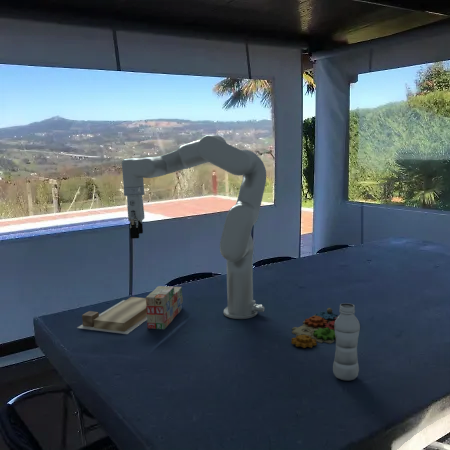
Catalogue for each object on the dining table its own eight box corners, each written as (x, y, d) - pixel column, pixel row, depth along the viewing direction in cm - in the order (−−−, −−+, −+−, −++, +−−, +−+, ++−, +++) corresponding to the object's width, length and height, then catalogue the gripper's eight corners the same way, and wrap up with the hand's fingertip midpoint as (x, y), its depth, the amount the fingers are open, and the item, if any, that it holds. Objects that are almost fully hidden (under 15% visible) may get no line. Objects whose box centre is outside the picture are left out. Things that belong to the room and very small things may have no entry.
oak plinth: (158, 306, 176) (158, 299, 176) (124, 331, 153) (123, 323, 153) (131, 304, 180) (131, 296, 180) (94, 327, 157) (93, 319, 156)
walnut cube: (99, 322, 161) (98, 312, 161) (92, 327, 158) (91, 316, 157) (89, 321, 163) (89, 311, 162) (82, 325, 159) (82, 315, 158)
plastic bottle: (329, 372, 123) (330, 302, 120) (353, 370, 124) (355, 300, 120) (337, 384, 117) (338, 310, 114) (362, 382, 117) (364, 309, 114)
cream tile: (167, 306, 179) (167, 304, 179) (127, 336, 151) (127, 334, 151) (123, 301, 186) (123, 300, 185) (77, 329, 158) (76, 327, 158)
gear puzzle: (317, 356, 134) (318, 343, 133) (272, 342, 144) (272, 330, 144) (361, 323, 158) (361, 312, 157) (319, 313, 168) (319, 303, 167)
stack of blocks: (167, 309, 176) (166, 278, 174) (183, 310, 175) (182, 279, 173) (147, 331, 155) (145, 296, 153) (164, 332, 154) (163, 297, 152)
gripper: (140, 193, 163) (143, 239, 166) (146, 189, 180) (149, 231, 183) (119, 193, 163) (123, 240, 166) (127, 189, 180) (130, 232, 183)
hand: (136, 235), depth 175 cm, fingers open, 9 cm apart
